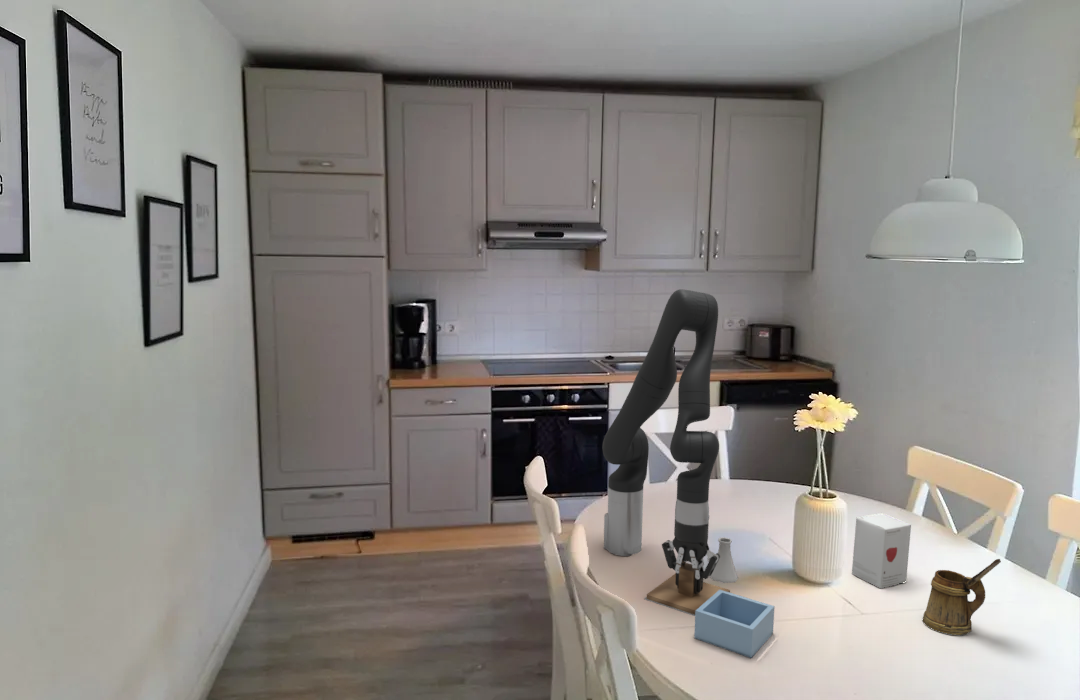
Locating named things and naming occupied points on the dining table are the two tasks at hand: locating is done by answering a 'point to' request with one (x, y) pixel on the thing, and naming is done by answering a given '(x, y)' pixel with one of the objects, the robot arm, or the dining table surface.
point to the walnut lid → (683, 591)
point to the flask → (724, 563)
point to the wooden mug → (954, 600)
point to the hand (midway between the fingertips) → (688, 589)
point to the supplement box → (881, 549)
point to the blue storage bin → (734, 623)
